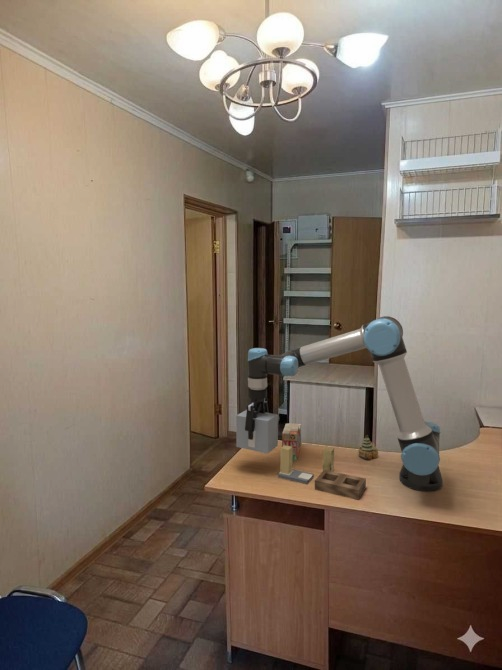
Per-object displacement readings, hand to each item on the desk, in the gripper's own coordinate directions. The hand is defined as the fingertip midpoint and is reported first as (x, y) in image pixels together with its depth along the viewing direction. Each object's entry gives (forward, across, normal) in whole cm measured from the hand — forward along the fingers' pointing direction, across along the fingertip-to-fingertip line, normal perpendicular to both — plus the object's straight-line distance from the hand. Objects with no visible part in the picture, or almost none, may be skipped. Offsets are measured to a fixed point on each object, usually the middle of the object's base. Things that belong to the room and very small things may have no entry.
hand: (257, 442), depth 173 cm
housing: (+2, 0, 0) cm, 2 cm away
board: (+11, -1, +16) cm, 20 cm away
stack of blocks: (+12, -24, +5) cm, 27 cm away
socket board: (+11, 0, +34) cm, 36 cm away
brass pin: (+11, -10, +26) cm, 30 cm away
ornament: (+11, -33, +36) cm, 50 cm away
